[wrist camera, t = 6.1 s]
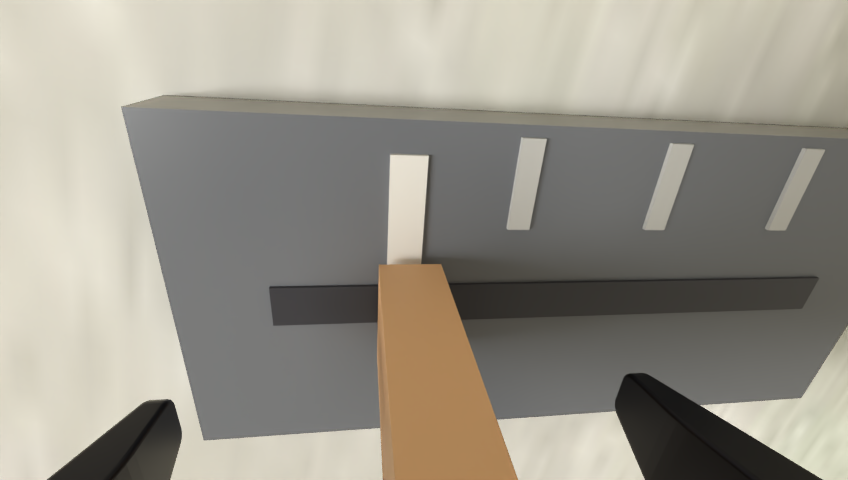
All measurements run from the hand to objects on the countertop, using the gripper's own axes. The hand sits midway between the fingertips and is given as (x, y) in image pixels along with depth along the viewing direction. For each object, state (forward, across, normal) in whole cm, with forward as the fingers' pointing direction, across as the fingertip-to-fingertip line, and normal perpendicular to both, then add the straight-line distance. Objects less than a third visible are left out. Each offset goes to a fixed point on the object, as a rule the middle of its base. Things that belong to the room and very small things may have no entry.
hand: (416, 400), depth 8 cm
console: (+6, -5, 0) cm, 8 cm away
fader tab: (+3, 0, 0) cm, 3 cm away
